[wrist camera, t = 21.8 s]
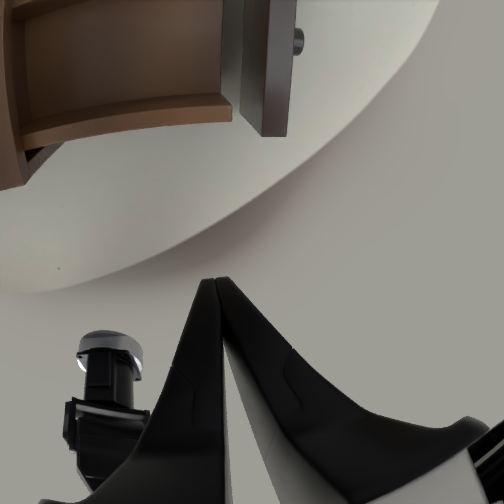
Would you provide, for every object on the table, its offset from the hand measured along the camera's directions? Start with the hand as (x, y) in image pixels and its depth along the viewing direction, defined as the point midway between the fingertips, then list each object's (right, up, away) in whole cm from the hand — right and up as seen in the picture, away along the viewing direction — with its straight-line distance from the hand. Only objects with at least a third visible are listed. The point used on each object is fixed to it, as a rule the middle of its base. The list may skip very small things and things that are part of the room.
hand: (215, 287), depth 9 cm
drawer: (-5, +13, +4) cm, 14 cm away
